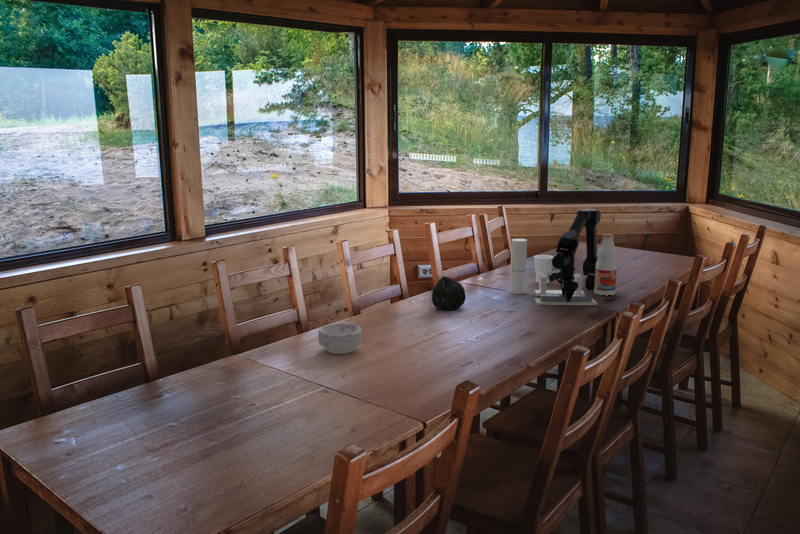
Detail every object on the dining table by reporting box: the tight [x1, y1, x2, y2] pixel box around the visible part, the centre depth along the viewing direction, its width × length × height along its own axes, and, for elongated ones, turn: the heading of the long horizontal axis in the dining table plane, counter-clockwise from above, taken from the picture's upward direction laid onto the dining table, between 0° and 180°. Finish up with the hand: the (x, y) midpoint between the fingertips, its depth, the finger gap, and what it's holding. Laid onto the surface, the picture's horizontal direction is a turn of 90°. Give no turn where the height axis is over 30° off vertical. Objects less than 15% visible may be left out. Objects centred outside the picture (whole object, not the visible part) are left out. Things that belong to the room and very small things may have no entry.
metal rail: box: [539, 294, 593, 302], centre depth 279 cm, size 22×3×2 cm, turn 87°
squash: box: [431, 276, 467, 311], centre depth 272 cm, size 14×15×15 cm
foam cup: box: [533, 254, 554, 284], centre depth 315 cm, size 10×9×13 cm
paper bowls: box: [317, 322, 363, 355], centre depth 222 cm, size 15×15×8 cm
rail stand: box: [534, 273, 586, 297], centre depth 292 cm, size 22×6×9 cm, turn 87°
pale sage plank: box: [534, 297, 599, 306], centre depth 279 cm, size 26×8×1 cm, turn 87°
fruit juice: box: [593, 233, 618, 297], centre depth 291 cm, size 9×9×28 cm
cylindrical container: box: [509, 238, 528, 295], centre depth 295 cm, size 7×7×25 cm
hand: (565, 299), depth 279 cm, fingers open, 9 cm apart
